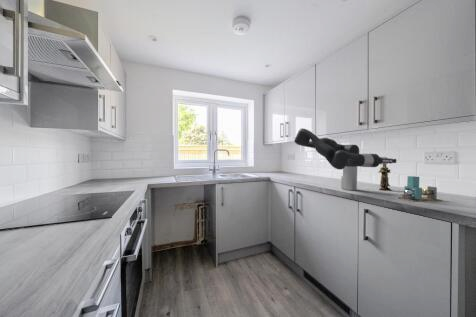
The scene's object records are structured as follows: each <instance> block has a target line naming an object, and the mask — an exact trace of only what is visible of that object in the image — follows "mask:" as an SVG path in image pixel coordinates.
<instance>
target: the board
mask: <svg viewBox="0 0 476 317" xmlns="http://www.w3.org/2000/svg"><path fill="white" fill-rule="evenodd" d="M397 199H399V200H403V201H407V202H411V201H414V202H443V199H439V198H436V199H431V198H427V196H422V199H412V200H409V199H404V198H402V197H401V196H397Z"/></svg>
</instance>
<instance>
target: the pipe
mask: <svg viewBox="0 0 476 317" xmlns="http://www.w3.org/2000/svg"><path fill="white" fill-rule="evenodd" d="M426 188H427V189H426ZM426 188H422V196H423V197H427V198H431V199H438V198H437V197H438V196H437V195H438V194H437V193H438V187H436V186H427V187H426ZM401 195H402V198H404V199H409V200H412V196H414V189H412V190H404V189H403V193H402V194H401ZM411 195H412V196H411Z"/></svg>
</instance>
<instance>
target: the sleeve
mask: <svg viewBox="0 0 476 317" xmlns="http://www.w3.org/2000/svg"><path fill="white" fill-rule="evenodd" d="M406 184H407V185H404V189H403V191H404V190H414V195H411V196H412V199H422V197H423V195H422V190H423V187H420V176H415V175H407V182H406Z"/></svg>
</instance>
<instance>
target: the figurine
mask: <svg viewBox="0 0 476 317" xmlns="http://www.w3.org/2000/svg"><path fill="white" fill-rule="evenodd" d="M384 158H387V156H384ZM378 173H380V174H381V176H380V184H379V189H378V190H379V191H384V192H388V191H390V192H391V191H392V189H390V187H391V184H389V174H390V173H391V169H389V167H388V166H387V164H382V166H381V167H380V168H379V170H378Z"/></svg>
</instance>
